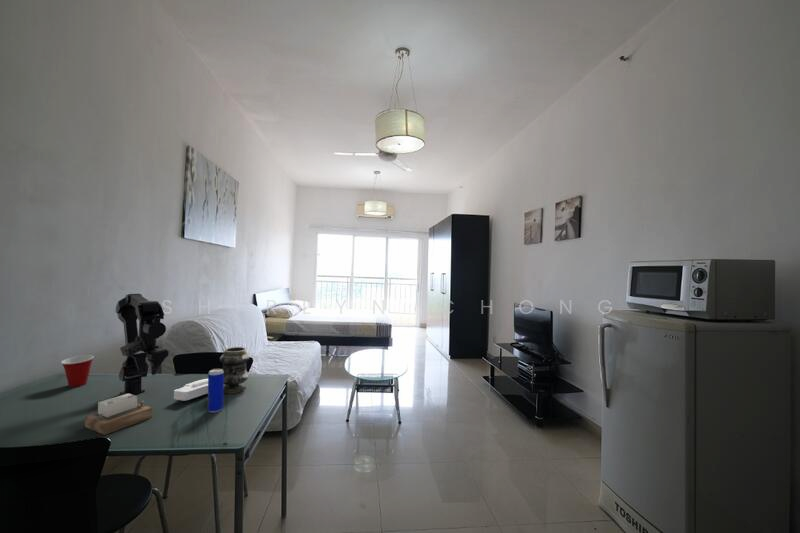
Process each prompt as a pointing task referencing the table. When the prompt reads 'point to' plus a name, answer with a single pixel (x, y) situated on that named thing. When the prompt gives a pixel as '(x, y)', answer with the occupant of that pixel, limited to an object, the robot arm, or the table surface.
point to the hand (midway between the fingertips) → (146, 372)
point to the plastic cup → (77, 369)
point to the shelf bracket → (192, 390)
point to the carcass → (118, 419)
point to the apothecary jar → (234, 369)
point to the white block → (117, 405)
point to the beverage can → (215, 390)
